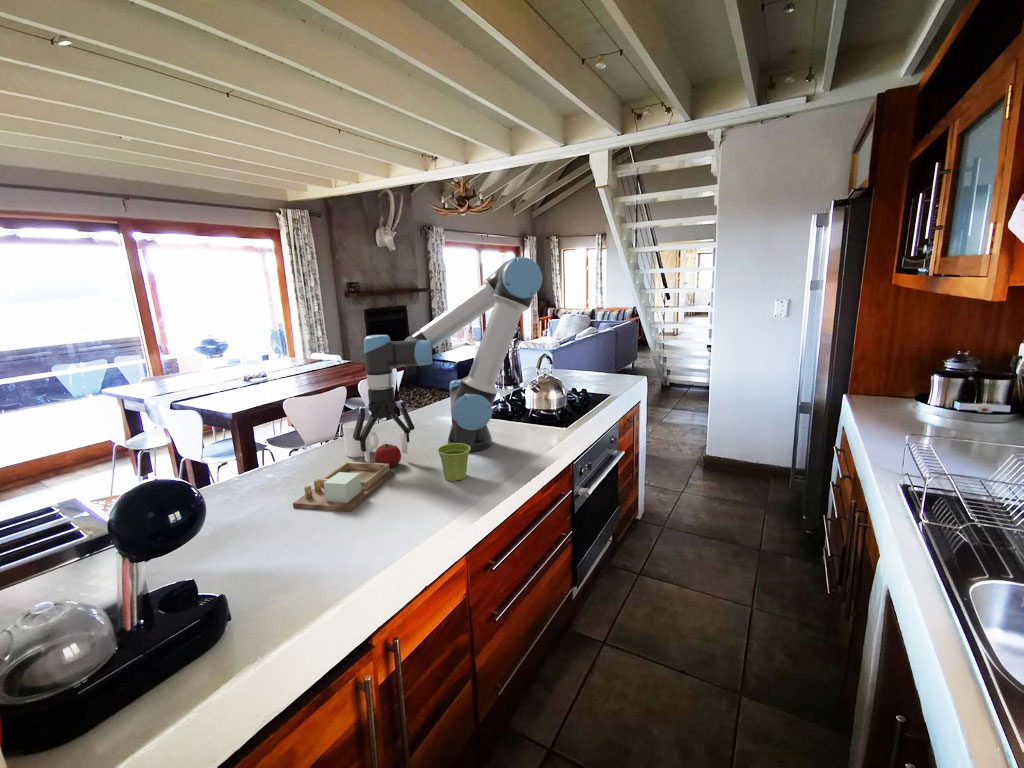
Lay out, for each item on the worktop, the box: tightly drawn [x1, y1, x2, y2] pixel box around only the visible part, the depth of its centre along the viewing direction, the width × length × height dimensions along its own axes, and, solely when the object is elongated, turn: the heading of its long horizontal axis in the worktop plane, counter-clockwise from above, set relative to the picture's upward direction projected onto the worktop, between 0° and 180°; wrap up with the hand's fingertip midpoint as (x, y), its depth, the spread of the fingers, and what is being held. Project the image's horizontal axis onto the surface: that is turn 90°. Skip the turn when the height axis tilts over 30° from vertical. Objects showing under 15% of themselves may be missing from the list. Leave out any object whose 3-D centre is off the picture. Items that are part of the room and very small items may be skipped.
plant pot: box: [437, 443, 471, 482], centre depth 133 cm, size 9×9×9 cm
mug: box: [342, 420, 379, 458], centre depth 155 cm, size 12×8×10 cm
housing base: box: [292, 461, 395, 513], centre depth 128 cm, size 16×24×4 cm, turn 169°
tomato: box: [373, 443, 402, 468], centre depth 144 cm, size 8×8×7 cm
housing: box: [324, 472, 362, 503], centre depth 121 cm, size 6×7×5 cm
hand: (386, 456), depth 144 cm, fingers open, 11 cm apart
